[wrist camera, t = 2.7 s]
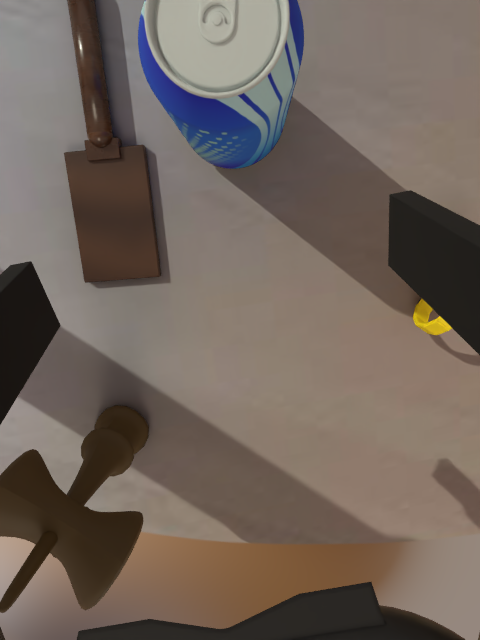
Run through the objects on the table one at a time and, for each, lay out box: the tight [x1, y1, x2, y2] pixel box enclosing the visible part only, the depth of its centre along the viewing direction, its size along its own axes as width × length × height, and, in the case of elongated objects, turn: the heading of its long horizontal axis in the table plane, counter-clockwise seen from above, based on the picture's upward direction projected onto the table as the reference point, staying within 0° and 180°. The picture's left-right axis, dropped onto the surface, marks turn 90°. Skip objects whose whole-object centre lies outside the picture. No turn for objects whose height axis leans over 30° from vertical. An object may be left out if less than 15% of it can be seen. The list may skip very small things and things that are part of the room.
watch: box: [413, 299, 452, 335], centre depth 34 cm, size 6×3×6 cm, turn 148°
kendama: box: [0, 405, 149, 613], centre depth 30 cm, size 6×10×20 cm, turn 54°
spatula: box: [64, 0, 161, 282], centre depth 34 cm, size 24×7×2 cm, turn 5°
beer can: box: [138, 0, 304, 169], centre depth 26 cm, size 8×8×16 cm
